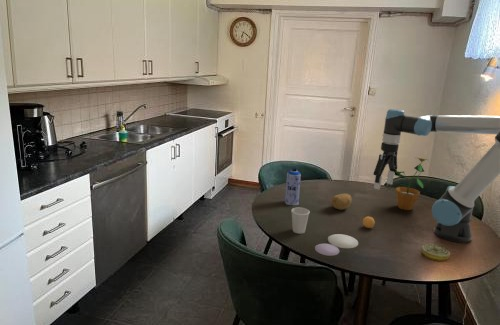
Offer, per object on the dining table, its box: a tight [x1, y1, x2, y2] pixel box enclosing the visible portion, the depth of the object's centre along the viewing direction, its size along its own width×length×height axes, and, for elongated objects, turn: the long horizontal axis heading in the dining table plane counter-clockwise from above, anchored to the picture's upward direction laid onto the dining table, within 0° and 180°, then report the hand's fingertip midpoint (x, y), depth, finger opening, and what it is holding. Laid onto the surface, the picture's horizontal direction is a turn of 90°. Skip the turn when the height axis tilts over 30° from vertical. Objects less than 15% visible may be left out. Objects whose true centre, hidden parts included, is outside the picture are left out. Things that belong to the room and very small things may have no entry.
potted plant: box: [394, 156, 428, 211], centre depth 201 cm, size 18×19×30 cm
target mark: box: [327, 233, 359, 249], centre depth 162 cm, size 13×13×1 cm
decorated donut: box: [421, 243, 451, 262], centre depth 153 cm, size 10×11×4 cm
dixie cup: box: [290, 206, 311, 235], centre depth 169 cm, size 8×8×10 cm
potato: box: [330, 193, 353, 210], centre depth 199 cm, size 10×14×8 cm
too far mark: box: [314, 243, 340, 257], centre depth 154 cm, size 10×10×1 cm
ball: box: [362, 216, 376, 229], centre depth 177 cm, size 6×6×6 cm
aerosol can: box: [284, 167, 302, 206], centre depth 202 cm, size 8×8×20 cm
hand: (383, 186), depth 179 cm, fingers open, 12 cm apart
